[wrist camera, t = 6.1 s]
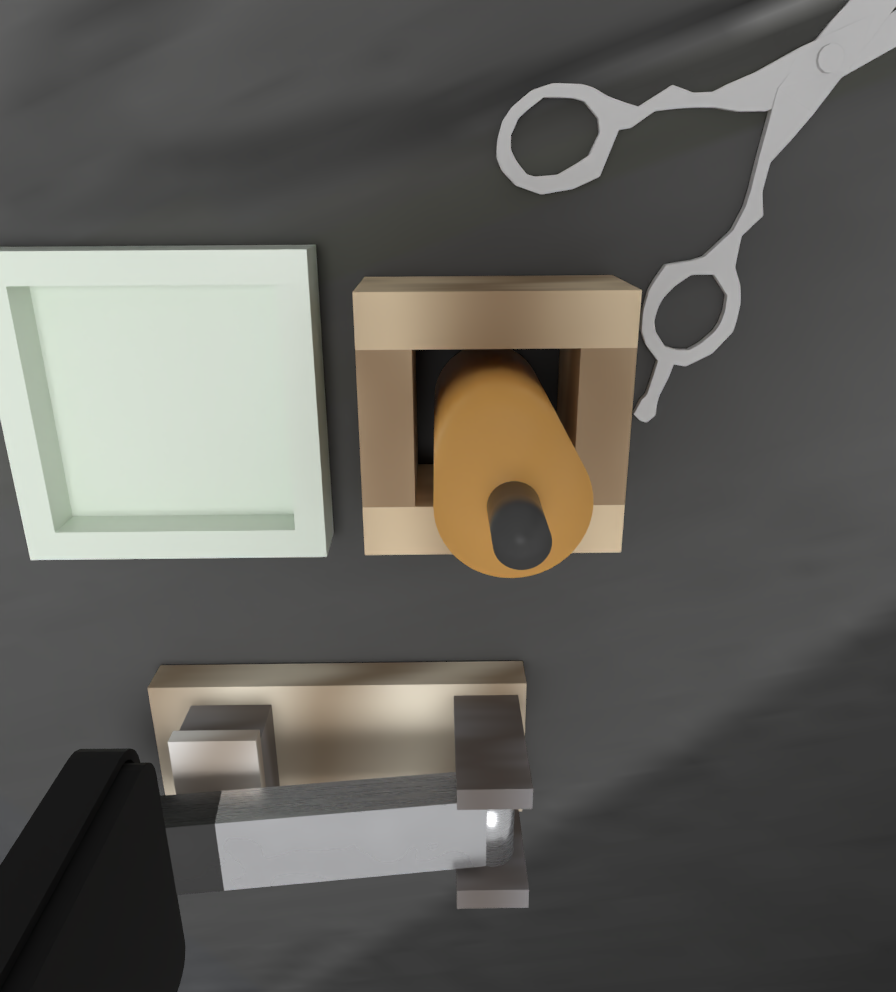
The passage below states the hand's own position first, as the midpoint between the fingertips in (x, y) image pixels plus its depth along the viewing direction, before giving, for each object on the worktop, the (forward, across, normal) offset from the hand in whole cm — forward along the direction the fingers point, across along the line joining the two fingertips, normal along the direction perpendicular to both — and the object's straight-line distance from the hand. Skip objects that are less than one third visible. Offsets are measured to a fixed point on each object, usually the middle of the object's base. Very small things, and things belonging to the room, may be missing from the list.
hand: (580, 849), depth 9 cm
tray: (+20, +10, 0) cm, 22 cm away
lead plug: (+20, 0, 0) cm, 20 cm away
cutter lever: (+15, +6, +14) cm, 21 cm away
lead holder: (+20, 0, 0) cm, 20 cm away
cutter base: (+20, +5, +14) cm, 25 cm away
